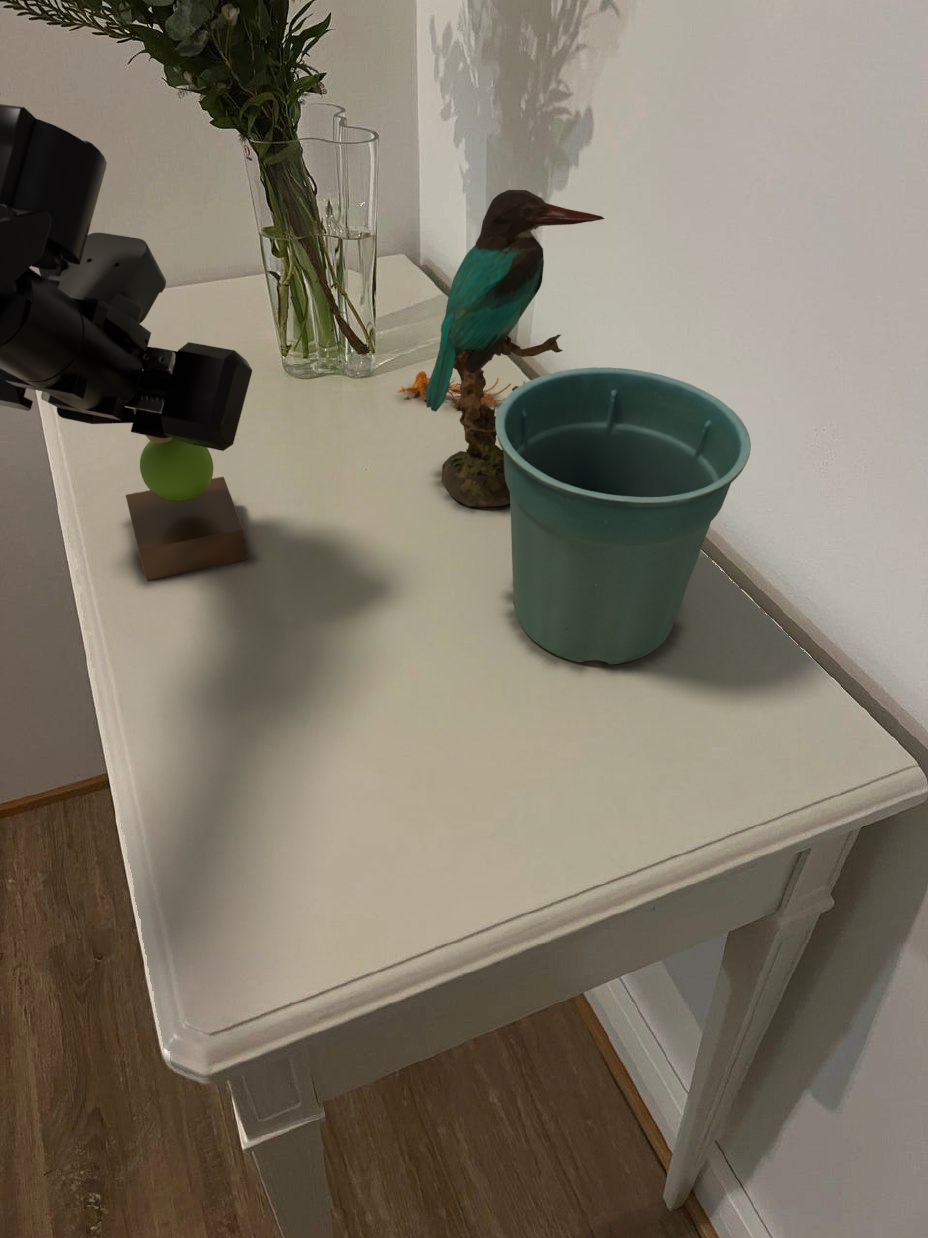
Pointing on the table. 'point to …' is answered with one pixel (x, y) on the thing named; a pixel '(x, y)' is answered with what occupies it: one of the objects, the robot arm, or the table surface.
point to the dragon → (423, 381)
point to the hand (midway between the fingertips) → (173, 416)
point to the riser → (186, 531)
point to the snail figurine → (175, 468)
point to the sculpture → (490, 333)
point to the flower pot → (611, 503)
